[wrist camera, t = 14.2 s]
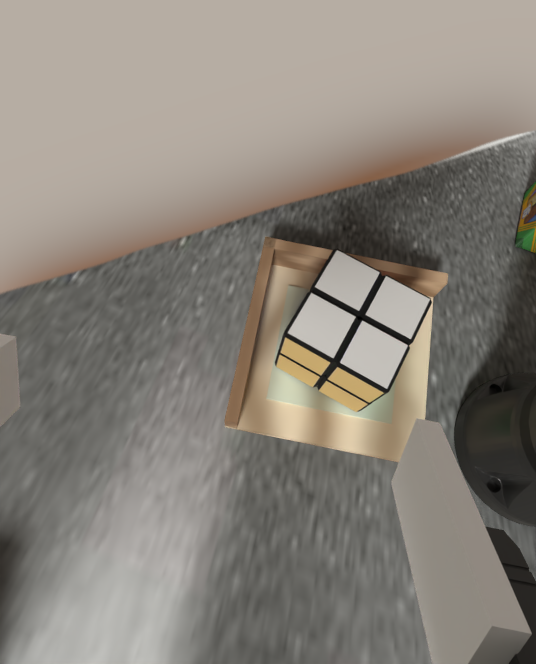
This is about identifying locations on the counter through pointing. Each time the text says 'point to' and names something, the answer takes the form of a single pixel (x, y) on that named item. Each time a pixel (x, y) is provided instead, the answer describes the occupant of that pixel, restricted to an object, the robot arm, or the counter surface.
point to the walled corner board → (307, 402)
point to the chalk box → (528, 222)
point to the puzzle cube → (352, 332)
